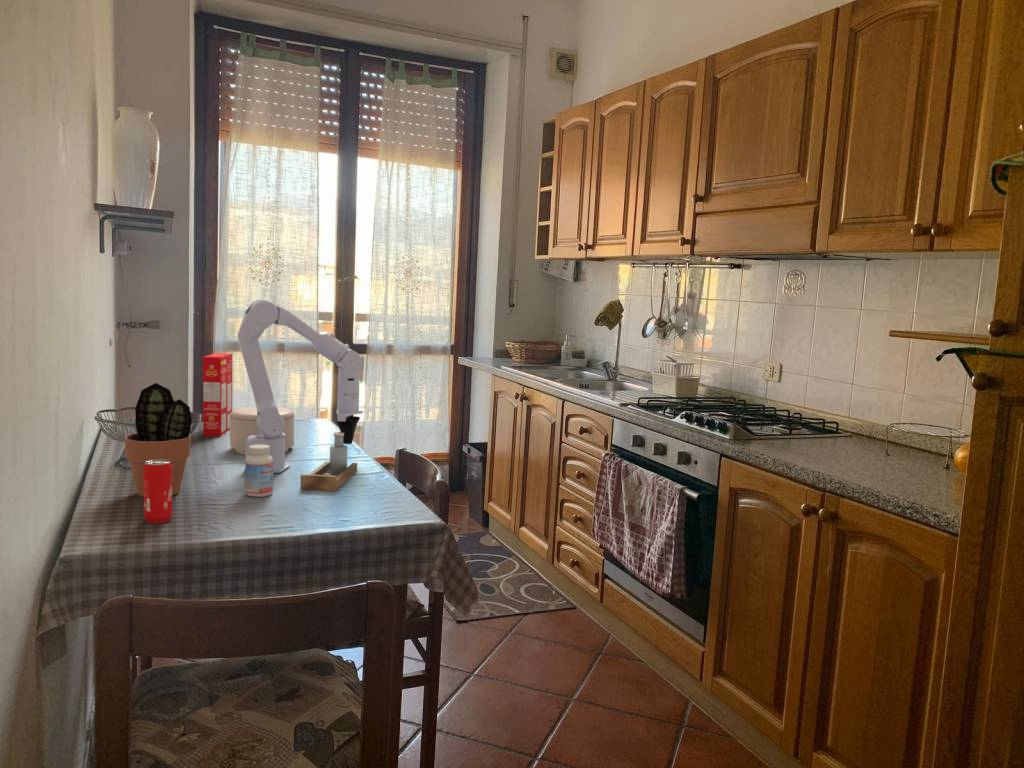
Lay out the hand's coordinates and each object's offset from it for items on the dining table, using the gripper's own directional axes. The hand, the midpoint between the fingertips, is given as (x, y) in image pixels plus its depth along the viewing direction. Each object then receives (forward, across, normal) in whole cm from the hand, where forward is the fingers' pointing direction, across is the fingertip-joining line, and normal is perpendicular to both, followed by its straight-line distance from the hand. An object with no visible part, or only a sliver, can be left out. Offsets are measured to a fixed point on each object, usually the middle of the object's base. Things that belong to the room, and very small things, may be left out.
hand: (347, 443), depth 209 cm
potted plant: (+6, -36, +34) cm, 50 cm away
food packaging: (+6, +38, +52) cm, 65 cm away
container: (+6, +15, +29) cm, 33 cm away
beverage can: (+6, -56, +24) cm, 61 cm away
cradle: (+6, -16, 0) cm, 17 cm away
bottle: (+6, -9, 0) cm, 11 cm away
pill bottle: (+6, -33, +12) cm, 36 cm away
